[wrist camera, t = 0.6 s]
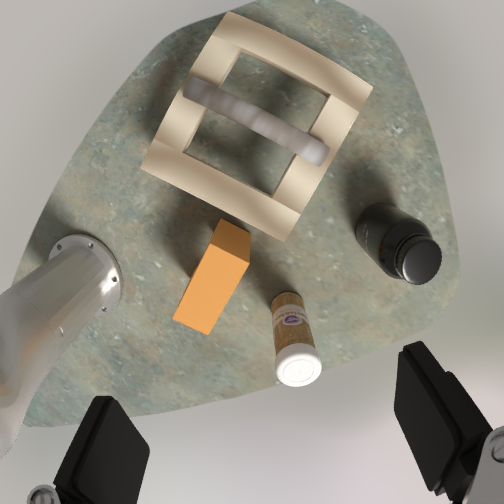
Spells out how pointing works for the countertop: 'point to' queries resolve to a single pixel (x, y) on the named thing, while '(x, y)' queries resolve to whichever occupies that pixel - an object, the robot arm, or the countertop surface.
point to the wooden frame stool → (256, 125)
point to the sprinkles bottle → (293, 341)
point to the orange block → (215, 277)
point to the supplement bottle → (398, 243)
